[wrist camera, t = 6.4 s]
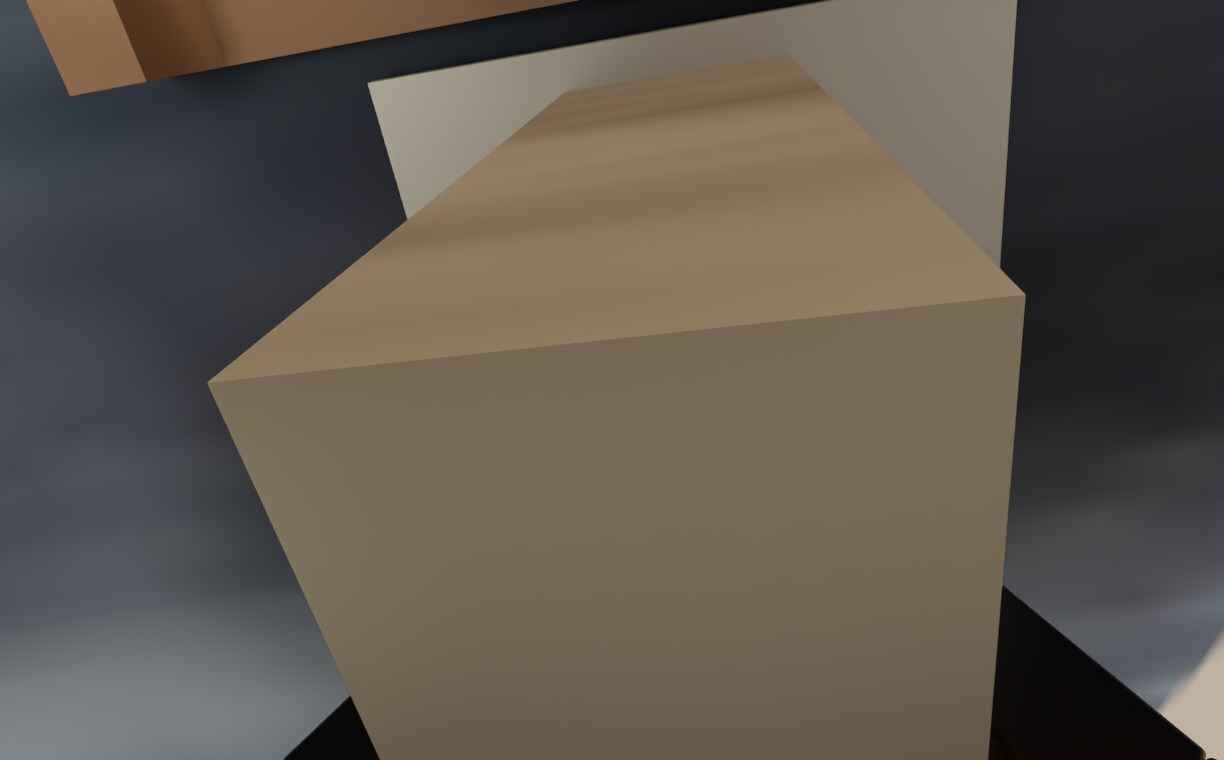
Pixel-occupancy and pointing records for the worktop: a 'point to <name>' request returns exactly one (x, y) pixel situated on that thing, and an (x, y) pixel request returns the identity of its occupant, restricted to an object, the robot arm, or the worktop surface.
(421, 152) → the cream rectangular plate
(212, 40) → the rack
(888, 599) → the birch board
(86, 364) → the worktop surface
